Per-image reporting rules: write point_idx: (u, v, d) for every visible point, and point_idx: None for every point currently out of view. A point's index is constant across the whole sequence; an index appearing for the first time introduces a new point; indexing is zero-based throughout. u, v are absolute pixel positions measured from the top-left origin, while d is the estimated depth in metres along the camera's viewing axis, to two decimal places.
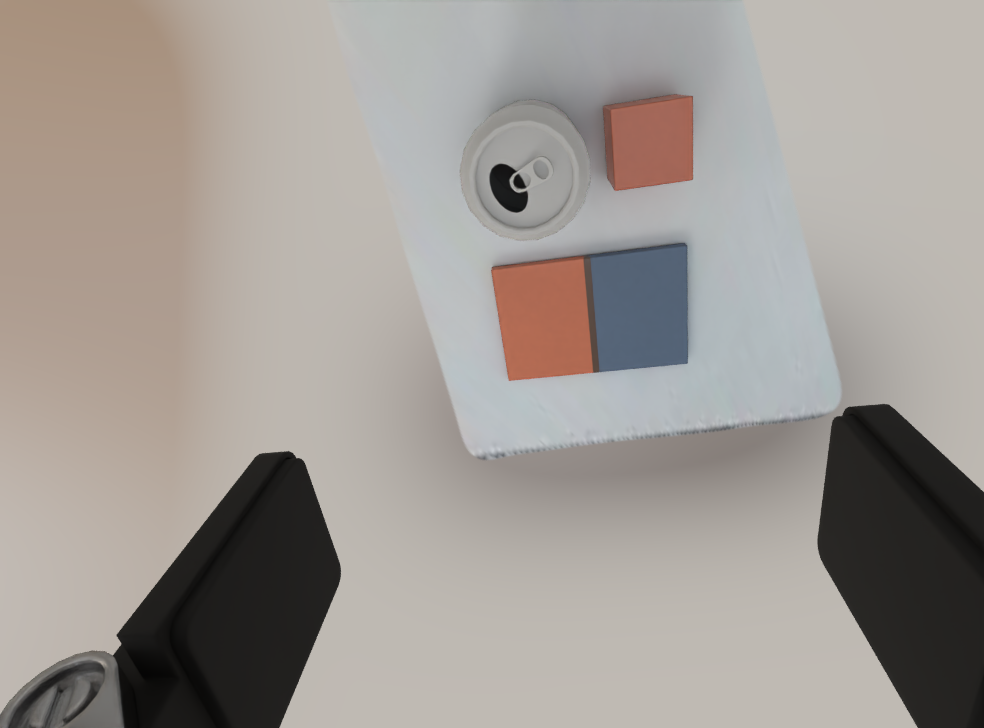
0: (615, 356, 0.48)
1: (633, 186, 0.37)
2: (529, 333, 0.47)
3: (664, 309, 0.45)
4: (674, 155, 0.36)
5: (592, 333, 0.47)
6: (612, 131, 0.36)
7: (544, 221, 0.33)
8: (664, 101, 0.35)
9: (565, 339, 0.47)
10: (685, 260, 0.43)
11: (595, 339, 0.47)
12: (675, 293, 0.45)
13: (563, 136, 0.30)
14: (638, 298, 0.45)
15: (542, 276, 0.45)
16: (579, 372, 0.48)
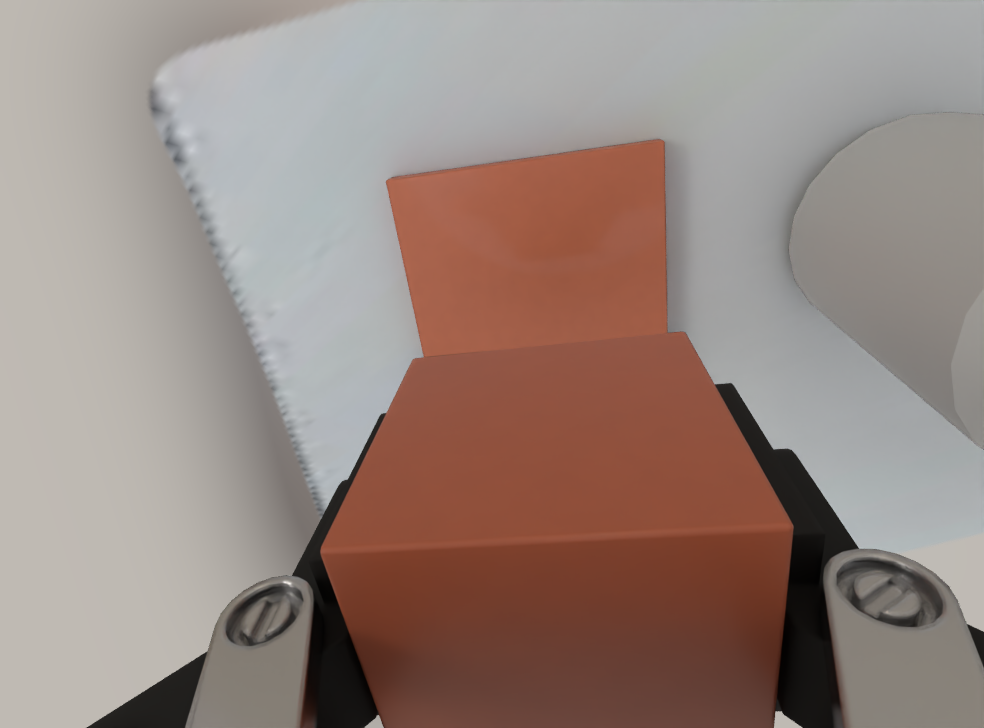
0: None
1: (354, 627, 0.07)
2: (506, 229, 0.21)
3: None
4: None
5: None
6: (659, 538, 0.06)
7: None
8: None
9: (493, 304, 0.23)
10: None
11: None
12: None
13: None
14: None
15: (638, 256, 0.21)
16: (421, 332, 0.24)
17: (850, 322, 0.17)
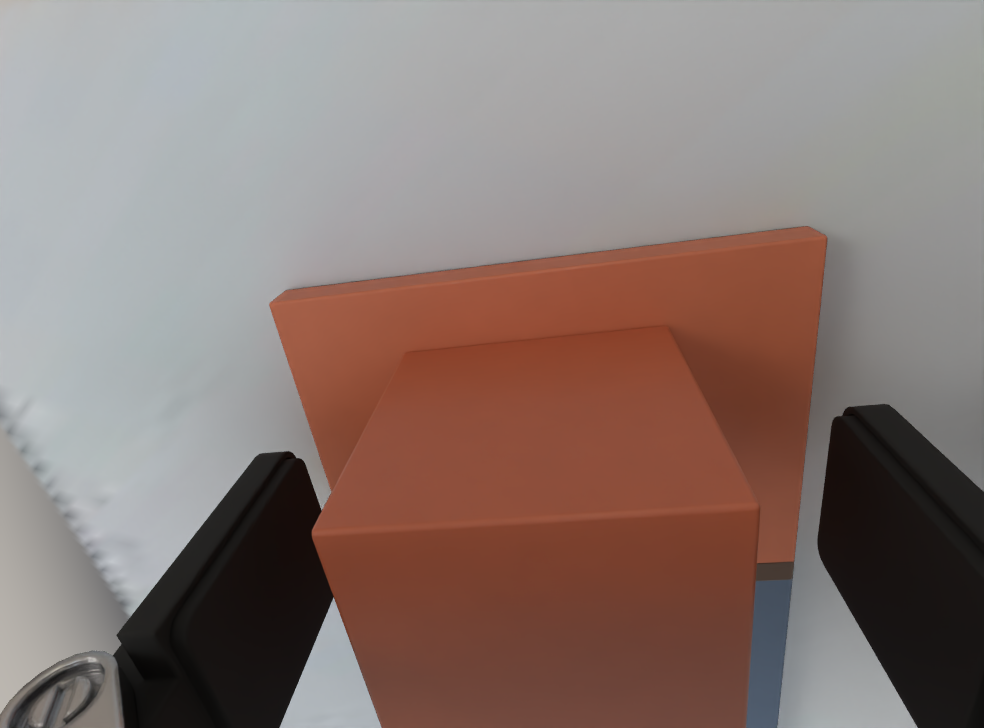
0: None
1: (344, 608, 0.07)
2: None
3: None
4: None
5: None
6: (633, 518, 0.06)
7: None
8: (743, 707, 0.07)
9: None
10: None
11: None
12: None
13: None
14: None
15: (752, 440, 0.11)
16: None
17: None
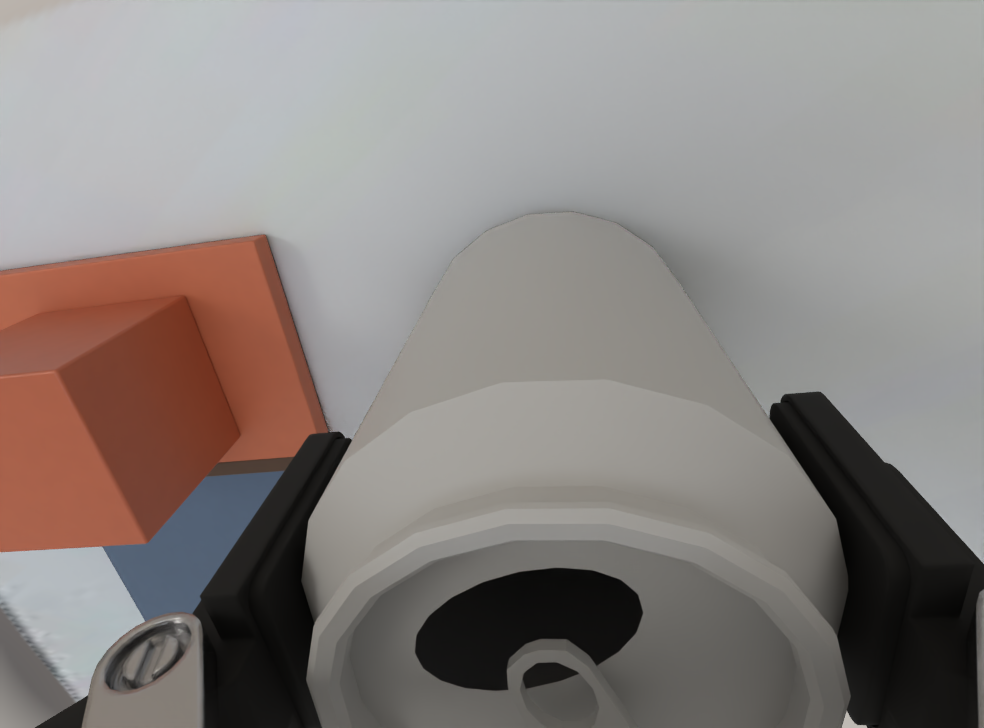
0: None
1: None
2: None
3: None
4: (11, 516, 0.14)
5: None
6: (4, 378, 0.13)
7: None
8: (118, 491, 0.14)
9: None
10: None
11: None
12: None
13: None
14: None
15: (263, 369, 0.18)
16: None
17: None
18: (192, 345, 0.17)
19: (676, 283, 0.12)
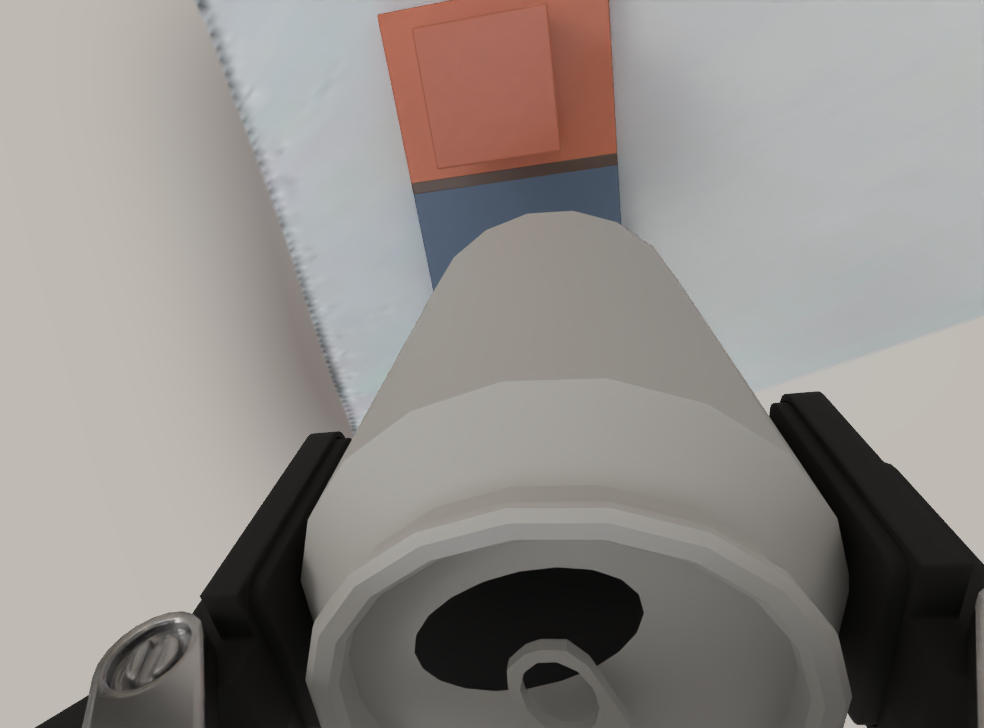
0: (444, 219, 0.29)
1: (420, 64, 0.21)
2: None
3: None
4: (472, 132, 0.22)
5: (484, 177, 0.28)
6: (510, 11, 0.20)
7: None
8: (555, 104, 0.22)
9: None
10: None
11: (473, 183, 0.28)
12: None
13: None
14: None
15: (589, 79, 0.25)
16: (409, 158, 0.28)
17: None
18: None
19: (676, 282, 0.12)
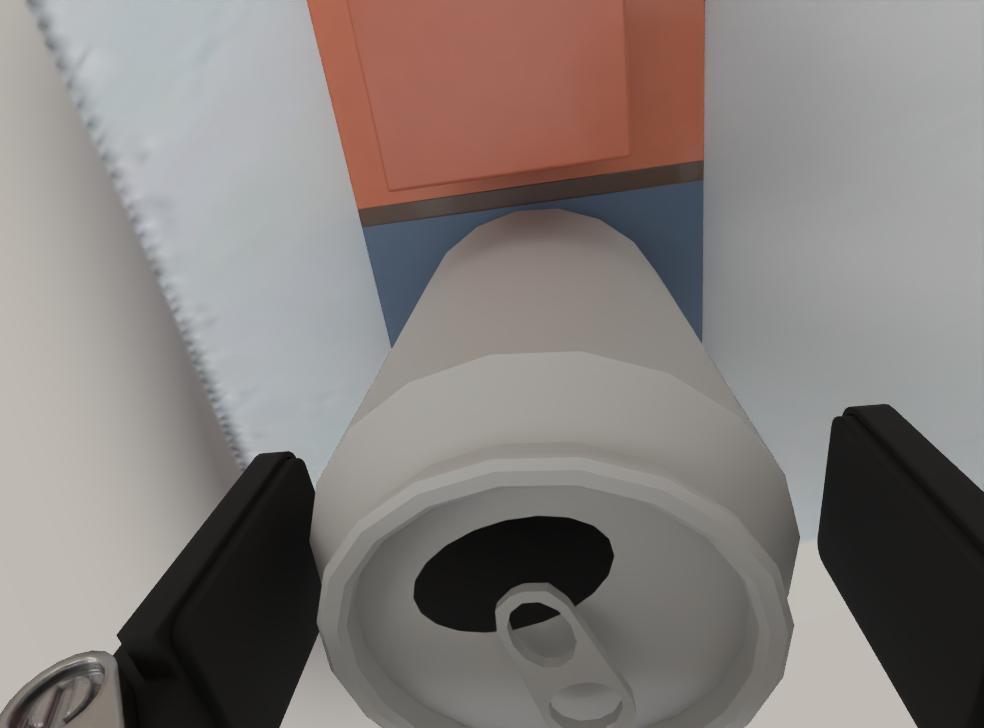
0: (413, 266, 0.18)
1: None
2: None
3: None
4: (456, 119, 0.11)
5: (478, 200, 0.17)
6: None
7: (390, 671, 0.09)
8: (625, 61, 0.10)
9: None
10: None
11: (460, 209, 0.17)
12: None
13: None
14: None
15: (663, 30, 0.14)
16: (352, 169, 0.17)
17: None
18: None
19: (653, 274, 0.13)
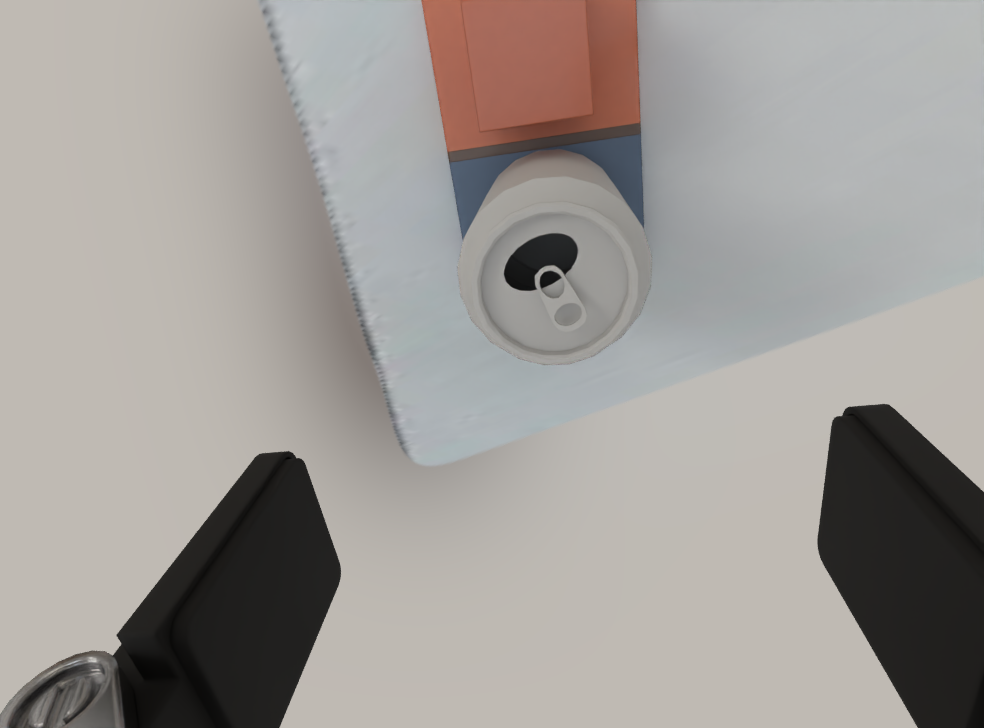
0: (477, 186, 0.31)
1: (467, 34, 0.23)
2: None
3: None
4: (513, 97, 0.24)
5: (516, 146, 0.30)
6: None
7: (492, 314, 0.22)
8: (589, 71, 0.24)
9: None
10: None
11: (505, 151, 0.30)
12: None
13: (611, 342, 0.21)
14: None
15: (616, 53, 0.28)
16: (446, 128, 0.30)
17: None
18: None
19: (607, 177, 0.26)
